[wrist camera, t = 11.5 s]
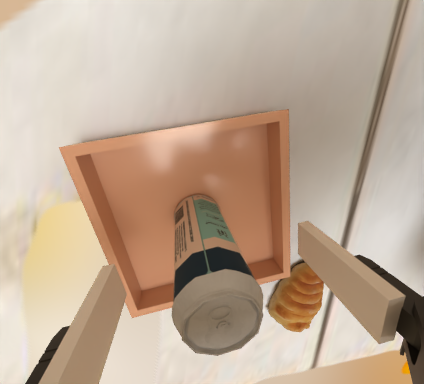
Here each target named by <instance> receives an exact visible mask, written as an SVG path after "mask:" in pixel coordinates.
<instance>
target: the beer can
mask: <svg viewBox="0 0 424 384" xmlns="http://www.w3.org/2000/svg"><path fill="white" fill-rule="evenodd" d="M174 223H175V226H174V299H173V306H172V318H173V323H174V325H175V327H176V328H177V330H178V332H179V333H180V335H181V336H182V341H184V342H185V343H186V344H187V345H188V346H189V347H190V348H191V349H192V350H193V351H194V352H195V353H200V354H208V355H216V356H218V355H221V354H225V353H228V352H231V351H234V350H237V349H240V348H242V347H243V346H244V345H245V344H246V343H247V342H249V341H250V340H251V339H252V338H253V337H254V336H255V335H256V334H258V332H259V328H260V325H261V321H262V318H263V313H262V309H263V294H262V290H261V287H260V286H259V284H258V283H257V281H256V280H255V278H254V276H253V274H252V272H251V270H250V268H249V266H248V264H247V262H246V260H245V258H244V256H243V254H242V252H241V250H240V248H239V246H238V244H237V242H236V240H235V239H234V237H233V235H232V233H231V231H230V229H229V227H228V225H227V223H226V221H225V219H224V217H223V215H222V213H221V210H220V207H219V206H218V204H217V203H216V202H215V200H213V199H212V198H210V197H208V196H205V195H193V196H190V197H187V198H185V199H184V200H182V201H181V202H180V203H179V205H178V206H177V208H176V209H175V213H174Z"/></svg>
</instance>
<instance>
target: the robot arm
mask: <svg viewBox="0 0 424 384" xmlns="http://www.w3.org/2000/svg"><path fill="white" fill-rule="evenodd" d="M298 254H299V255H300V256H301V258H302V259H303V260H304V261H305V262H306V263H307V264H308V265H309V267H310V268H311V269H312V270H313V271H314V272H315V273H316V274H317V275H318V277H319V278H320V279H321V280H322V281H323V282H324V283H325V284H326V285H327V287H328V288H329V289H330V290H331V291H332V292H333V293H334V294H335V296H336V297H337V298H338V299H339V300H340V301H341V302H342V303H343V304H344V306H345V307H346V308H347V309H348V310H349V311H350V312H351V313H352V314H353V316H354V317H355V318H356V319H357V320H358V321H359V322H360V323H361V325H362V326H363V327H364V328H365V329H366V330H367V331H368V332H369V333H370V335H371V336H372V337H373V338H374V339H375V340H376V341H377V342H378V343H379V344H381V343H385V342H388V341H391V340H394V338H395V334H396V331H397V332H398V333H399V334H400V335H401V336H402V337H403V338H404V339H403V342H402V346H401V349H400V355H404V352H405V353H406V357H407V361H408V365H409V370H410V374H411V378H412V382H413V384H424V296H423V297H422V296H420V295H419V294H418V293H416V292H415V291H413V290H412V289H411V288H409V287H408V286H406V285H405V284H404V283H402V282H401V281H399V280H398V279H397V278H395V277H394V276H393V275H391V274H390V273H388V272H387V271H386V270H384V269H383V268H380V266H379V265H377V264H376V263H374V262H373V261H372V260H370V259H368V258H366V257H363V256H361V255H357V256H353V255H352V254H350V253H349V252H348V251H347V250H345V249H344V248H343V247H341V246H340V245H339V244H337V243H336V242H335V241H334V240H332V239H331V238H330V237H328V236H327V235H326V234H324V233H323V232H322V231H321V230H319V229H318V228H317V227H315V226H314V225H313V224H311V223H310V222H309V221H306V222H301V223H298ZM126 296H127V293H126V290H125V288H124V286H123V283H122V281H121V278H120V276H119V273H118V271H117V269H116V266H115V264H111V265H107V266H103V267H102V269H101V271H100V272H99V274H98V276H97V278H96V280H95V281H94V283H93V285H92V287H91V289H90V291H89V292H88V294H87V296H86V298H85V300H84V302H83V303H82V305H81V307H80V309H79V311H78V313H77V314H76V316H75V318H74V320H73V322H72V323H71V325H70V326H67V327H63V328H62V329H61V330H60V331H59V332H58V333H57V334H56V335H55V336H54V337H53V339H52V340H51V342H50V343H49V345H48V347H47V348H46V350H45V353H44V354H43V355H42V357H41V358H40V360H39V363H38V364H37V365H36V367H35V368H34V370H33V372H32V373H31V375H30V377H29V378H28V380H27V382H26V383H25V384H99V381H100V378H101V375H102V372H103V368H104V365H105V362H106V359H107V356H108V353H109V350H110V346H111V343H112V340H113V337H114V334H115V330H116V328H117V324H118V321H119V318H120V315H121V312H122V309H123V305H124V302H125V299H126Z"/></svg>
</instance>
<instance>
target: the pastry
mask: <svg viewBox="0 0 424 384" xmlns="http://www.w3.org/2000/svg"><path fill="white" fill-rule="evenodd" d="M323 284H324V282H323V281H322V280H321V279H320V278H319V277H318V275H317V274H316V273H315V272H314V271H313V270H312V269H311V268H310V267H309V265H308V264H307V263H306V262H305V263H301V264H298V265H296V266H295V267H293V268H292V270H291V271H290V277H287V278H283V279H282V280H281V281H280V282H279V285H278V287H277V288H276V290H275V292H274V294H273V296H272V298H271V300H270V304H269V309H268V312H269V314H270V316H271V317H273V318H274V319H275V320H276V321H277V322H278V323H280V324H282V325H283V327H284V328H286V329H287V330H290V331H294V332H301V331H303V330H304V329H308V328H309V327H310V325H309V324H310V323H311V320H312V319H313V317H314V316H315V315H316V314H317V312H318V311H319V310H320V308H321V306H322V302H321V301H322V295H323V287H324V286H323Z"/></svg>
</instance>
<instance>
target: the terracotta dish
mask: <svg viewBox="0 0 424 384" xmlns="http://www.w3.org/2000/svg"><path fill="white" fill-rule="evenodd" d="M59 149H60V151H61V154H62V156H63V158H64V161H65V163H66V165H67V168H68V170H69V172H70V175H71V177H72V179H73V182H74V184H75V186H76V189H77V191H78V193H79V196H80V198H81V200H82V203H83V205H84V207H85V210H86V212H87V214H88V217H89V219H90V221H91V224H92V226H93V228H94V231H95V233H96V235H97V238H98V240H99V242H100V245H101V247H102V249H103V252H104V254H105V256H106V259H107V261H108V263H109V265H111V264H115V266H116V269H117V271H118V273H119V276H120V278H121V281H122V283H123V286H124V288H125V290H126V293H127V296H126V299H125V303H126V305H127V308H128V310H129V312H130V315H131V317H132V318H134V317H137V316H141V315H145V314H149V313H153V312H157V311H160V310H164V309H168V308H172V306H173V299H174V226H175V223H174V213H175V209H176V208H177V206H178V205H179V203H180V202H181V201H182V200H184V199H185V198H187V197H190V196H193V195H205V196H208V197H210V198H212V199H213V200H215V202H216V203H217V204H218V206H219V207H220V210H221V213H222V215H223V217H224V219H225V221H226V223H227V225H228V227H229V229H230V231H231V233H232V235H233V237H234V239H235V240H236V242H237V244H238V246H239V248H240V250H241V252H242V254H243V256H244V258H245V260H246V262H247V264H248V266H249V268H250V270H251V272H252V274H253V276H254V278H255V280H256V281H257V283H258V284H259V285H260V284H264V283H268V282H271V281H275V280H279V279H283V278H287V277H290V191H289V109H287V110H278V111H270V112H264V113H258V114H252V115H246V116H240V117H234V118H228V119H222V120H216V121H210V122H204V123H198V124H192V125H186V126H180V127H173V128H167V129H161V130H155V131H149V132H143V133H137V134H131V135H125V136H119V137H113V138H107V139H101V140H95V141H89V142H83V143H78V144H73V145H68V146H64V147H59Z"/></svg>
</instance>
